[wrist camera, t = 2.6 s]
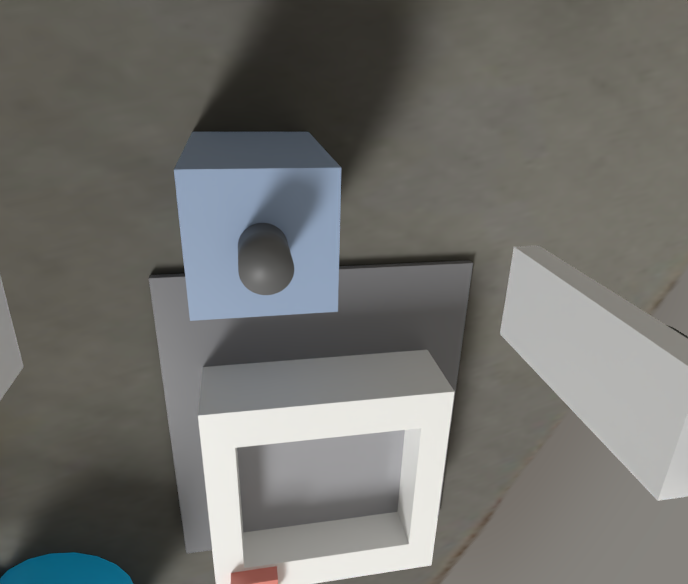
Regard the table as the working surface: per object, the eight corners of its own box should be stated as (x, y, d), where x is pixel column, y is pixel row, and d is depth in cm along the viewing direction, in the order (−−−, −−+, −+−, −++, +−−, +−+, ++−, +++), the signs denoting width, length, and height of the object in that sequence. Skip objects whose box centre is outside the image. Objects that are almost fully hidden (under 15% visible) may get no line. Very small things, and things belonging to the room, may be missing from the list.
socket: (150, 275, 25) (131, 327, 20) (470, 260, 28) (517, 302, 23) (186, 547, 32) (179, 631, 28) (436, 513, 35) (467, 584, 31)
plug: (192, 131, 23) (166, 185, 14) (308, 131, 24) (354, 181, 15) (202, 242, 25) (185, 351, 16) (308, 238, 26) (349, 339, 17)
